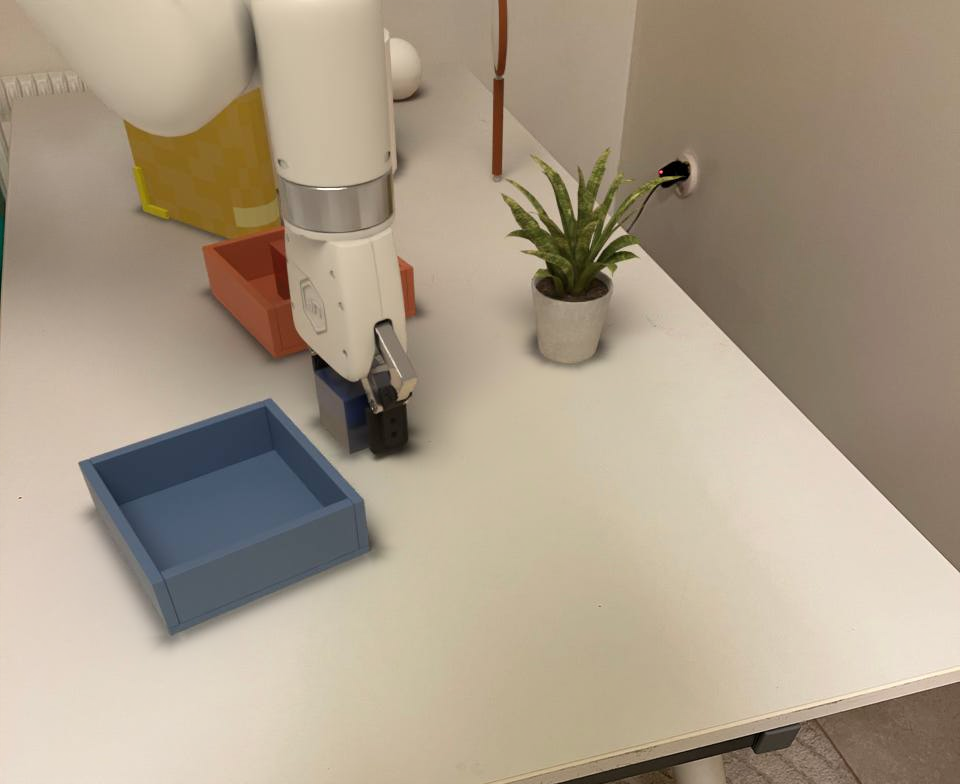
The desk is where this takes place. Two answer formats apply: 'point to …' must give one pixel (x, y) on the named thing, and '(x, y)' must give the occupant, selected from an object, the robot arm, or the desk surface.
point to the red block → (280, 267)
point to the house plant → (575, 261)
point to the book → (211, 172)
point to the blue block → (345, 406)
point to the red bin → (266, 289)
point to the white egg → (404, 68)
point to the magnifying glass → (498, 79)
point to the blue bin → (225, 512)
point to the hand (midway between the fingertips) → (361, 419)
